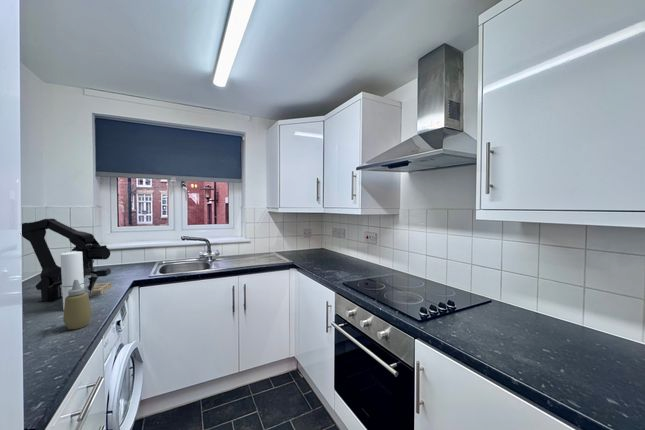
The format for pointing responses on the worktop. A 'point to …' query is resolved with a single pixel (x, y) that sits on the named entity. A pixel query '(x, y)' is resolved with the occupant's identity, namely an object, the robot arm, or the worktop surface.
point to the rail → (101, 288)
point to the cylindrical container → (71, 271)
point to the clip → (88, 289)
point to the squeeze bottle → (77, 307)
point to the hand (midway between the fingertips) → (86, 291)
